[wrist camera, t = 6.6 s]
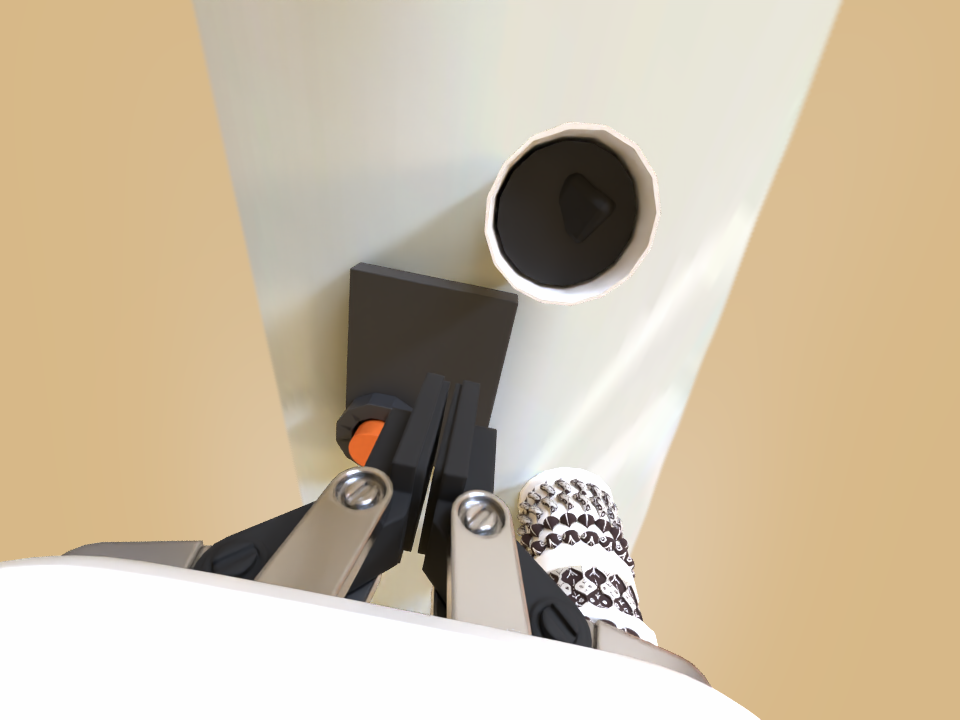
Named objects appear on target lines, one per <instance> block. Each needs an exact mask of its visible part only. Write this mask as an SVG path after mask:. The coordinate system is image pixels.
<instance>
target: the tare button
mask: <svg viewBox="0 0 960 720" xmlns="http://www.w3.org/2000/svg"><path fill="white" fill-rule="evenodd" d="M384 424H385V422H384V421H381V420H368V421H365V422H363V423H362V424H361V425H360V426H359V427H358V429H357V431H356V432H355V434H354V436H353V437H352V439H351V441H350V443H349V453H350V455H351V457H352V458H353V460H354V461H355V462H357V463H358V464H359V465H361V466H363V467H364V465H365V463H366V461H367V459H368V457H369V455H370V453H371V451H372V449H373V447H374V445H375V442H376V440H377V438H378V436H379V434H380V432H381V430H382V428H383V426H384Z"/></svg>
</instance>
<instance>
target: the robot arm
mask: <svg viewBox="0 0 960 720" xmlns="http://www.w3.org/2000/svg"><path fill="white" fill-rule="evenodd" d="M444 379H445V376H443V375H439V374H434V373H429V372H428V373H427V375H426V377H425V380H424V382H423V385H422V387H421V390H420V393H419V395H418V398H417V400H416V403H415V405H414V408H413V410H412V411H408V410H403V409H398V408H392V410H391V411H390V413H389V415H388V418H387V420H386V422H385V424H384V426H383V428H382V430H381V432H380V434H379V436H378V438H377V440H376V442H375V445H374V447H373V449H372V451H371V453H370V455H369V457H368V459H367V461H366V463H365V465H364V467H354V468H350V469H347V470H345V471H343V472H341V473H339V474H338V475H337V476H336V477H335V478H334V479H333V480H332V481H331V483H330V484H329V485H328V486H327V488H326V489H325V490H324V491H323V493H322V494H321V495H320V496H319V498H318V499H317V500H316V501H314V502H312V503H310V504H307V505H305V506H302V507H300V508H298V509H295V510H292V511H290V512H288V513H285V514H283V515H280V516H278V517H275V518H273V519H270V520H268V521H265V522H263V523H260V524H258V525H256V526H253V527H251V528H248V529H246V530H243V531H241V532H238V533H236V534H234V535H231V536H229V537H226V538H225V539H223V540H221V541H219V542H217V543H215V544H214V545H213V546H203V541H152V542H101V543H94V544H88V545H84V546H81V547H78V548H76V549H73V550H70V551H68V552H66V553H65V554H63V555H61V556H46V557H33V558H25V559H19V560H11V561H4V562H0V720H760V719H759V718H758V717H756V716H755V715H754V714H752V713H751V712H750V711H748V710H747V709H746V708H744V707H742V706H741V705H739V704H738V703H736V702H734V701H733V700H731V699H730V698H728V697H727V696H725V695H723V694H722V693H720V692H718V691H717V690H715V689H713V688H712V687H711V686H710V684H709V682H708V681H707V679H706V678H705V676H704V675H703V674H702V673H701V672H700V671H699V670H698V669H697V668H696V667H695V666H694V665H693V664H692V663H690V662H689V661H687V660H686V659H684V658H683V657H681V656H679V655H676V654H674V653H672V652H670V651H668V650H665V649H663V648H661V647H659V646H656V645H654V644H652V643H650V642H647V641H645V640H643V639H641V638H639V637H636V636H634V635H632V634H630V633H627V632H625V631H623V630H621V629H619V628H616V627H614V626H612V625H610V624H607V623H605V622H603V621H601V620H597V622H596V624H595V623H593V622H591V621H589V620H587V619H586V618H585V616H584V615H583V614H582V612H581V611H580V609H579V608H578V607H577V606H576V604H575V603H574V602H573V601H572V600H571V599H570V598H569V597H568V596H567V595H566V594H565V592H564V591H563V590H562V589H561V588H560V587H559V586H558V585H557V584H556V583H555V581H554V580H553V579H552V578H551V577H550V576H549V575H548V574H547V573H546V572H545V570H544V569H543V568H542V567H541V566H540V565H539V564H538V563H537V562H536V561H535V560H534V558H533V557H532V556H531V555H530V554H529V553H528V552H527V551H526V550H525V549H524V547H523V546H522V545H521V544H520V543H519V542H518V541H517V540H516V538H515V532H514V527H513V521H512V516H511V513H510V510H509V508H508V506H507V505H506V504H505V502H504V501H503V500H502V499H500V498H499V497H498V496H496V495H494V494H493V490H494V472H495V454H496V437H497V430H496V429H492V428H487V427H483V426H478V425H475V420H476V412H477V405H478V398H479V391H480V383H476V382H471V381H466V380H464V381H463V384H459V383H456V385H455V389H454V393H453V397H452V401H451V405H450V409H449V413H448V417H447V421H446V425H445V429H444V433H443V437H442V441H441V445H440V449H439V453H438V457H437V460H436V465H435V469H434V473H433V478H432V483H431V488H430V493H429V498H428V503H427V508H426V513H425V518H424V523H423V528H422V533H421V538H420V543H419V548H418V553H420V554H425V559H424V564H423V569H422V570H423V571H424V573H425V574H426V576H427V577H428V579H429V580H430V582H431V583H432V585H433V586H432V591H431V612H430V615H427V614H422V613H417V612H412V611H407V610H401V609H396V608H391V607H386V606H381V605H376V604H371V603H370V601H371V599H372V597H373V595H374V593H375V591H376V589H377V587H378V585H379V583H380V579H381V576H382V573H384V572H385V571H387V570H389V569H390V568H392V567H394V566H395V565H397V563H400V561H401V557H402V554H403V550H405V551H410V552H411V550H412V546H413V542H414V539H415V535H416V531H417V527H418V523H419V519H420V515H421V511H422V507H423V504H424V500H425V496H426V492H427V488H428V484H429V480H430V476H431V472H432V469H433V465H434V461H435V457H436V453H437V448H438V443H439V438H440V433H441V428H442V423H443V418H444V413H445V408H446V403H447V398H448V393H449V388H450V382H449V381H445V380H444Z"/></svg>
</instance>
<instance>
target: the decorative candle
mask: <svg viewBox="0 0 960 720" xmlns="http://www.w3.org/2000/svg"><path fill="white" fill-rule="evenodd" d="M518 509H519V512H520V514H518V515H517V518H518V520H520V522H521V523H522V524H523V525H521V526H520V528H519V529H518V530H517V533H518V535H521V536H522V538H521V541H520V544H521V545H522V546H523V547H524V549H525V550H526V551H527V552H528V553H529V554H530V555H531V556H532V557H533V558H534V560H535V561H536V562H537V563H538V564H539V565H540V566H541V567H542V568H543V569H544V570H545V572H546V573H547V574H548V575H549V576H550V577H551V578H552V579H553V580H554V581H555V583H556V584H557V585H558V586H559V587H560V588H561V589H562V590H563V591H564V592H565V594H566V595H567V596H568V597H569V598H570V599H571V600H572V601H573V602H574V603H575V604H576V606H577V607H578V608H579V609H580V611H581V612H582V614H583V615H584V616H585V618H586V619H587V620H589V621H591V622H593V623H595V624H596V622H597V620H601V621H603V622H605V623H607V624H610V625H612V626H614V627H616V628H619V629H621V630H623V631H625V632H627V633H630V634H632V635H634V636H636V637H639V638H641V639H643V640H645V641H647V642H650V643H652V644H654V645H656V646H658V644H657V641H656V637H655V634H654V632H653V631H652V630H651V629H649V628H648V627H647V626H646V625H645V624H644V623H643V619H642V616H641V612H640V610H639V606H638V602H639V598H638V594H637V590H636V586H635V583H634V577H635V574H634V571H633V568H634V561H633V559H632V558H631V557H629V555H628V551H627V549H628V543H627V541H626V540H625V539H624V538H623V533H622V531H623V525H622V522H621V520H620V518H619V517H618V516H617V515H618V509H617V506H616V505H615V503H614V502H613V499H612V495H611V491H610V488H609V487H608V486H607V485H606V484H605V483H604V482H603V481H602V480H601V479H600V477H598V476H596V475H594V474H592V473H589V472H587V471H585V470H583V469H575V468H564V467H562V468H557V469H552V470H548V471H544V472H542V473H540V474H538V475H537V476H535V477H533V478H532V479H530V480H529V481H528V482H527V483H526V485H525V486H524V487H523V489H522V490H521V491H520V495H519V502H518Z"/></svg>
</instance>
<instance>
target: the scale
mask: <svg viewBox="0 0 960 720" xmlns="http://www.w3.org/2000/svg"><path fill="white" fill-rule="evenodd" d="M517 306H518V295H517V294H513V293H508V292H503V291H498V290H493V289H488V288H483V287H479V286H474V285H469V284H464V283H459V282H454V281H449V280H444V279H440V278H435V277H430V276H425V275H420V274H415V273H410V272H405V271H401V270H396V269H391V268H386V267H381V266H376V265H371V264H366V263H359V264H357V265H356V266H354V267H352V268H351V269H350V296H349V327H348V357H347V387H346V410H345V411H344V413H343V414H342V416H341V417H340V418H339V420H338V421H337V427H336V441H337V443H338V444H339V446H340V447H341V449H342V451H343V452H344V454H345V455H346V456H347V458H349V459H351V460H352V461H354V460H353V458H352V457H351V455H350V453H349V443H350V441H351V439H352V437H353V436H354V434H355V432H356V431H357V429H358V427H359V426H360V425H361V424H362V423H363V422H365V421H368V420H381V421H384V422H386V420H387V418H388V415H389V413H390V411H391V410H392V408H398V409H403V410H408V411H412V410H413V408H414V405H415V403H416V400H417V398H418V395H419V393H420V390H421V387H422V385H423V382H424V380H425V377H426V375H427V373H428V372H429V373H434V374H439V375H443V376H445V379H444V380H445V381H449V382H450V388H449V393H448V398H447V403H446V408H445V413H444V418H443V423H442V428H441V433H440V438H439V443H438V448H437V453H436V457H435V461H434V465H433V466H434V467H435V465H436V460H437V457H438V453H439V449H440V445H441V441H442V437H443V433H444V429H445V425H446V421H447V417H448V413H449V409H450V405H451V401H452V397H453V393H454V389H455V385H456V383H459V384H463V381H464V380H466V381H471V382H476V383H480V391H479V398H478V405H477V412H476V420H475V425H478V426H483V427H487V428H488V425H489V421H490V417H491V413H492V409H493V405H494V401H495V397H496V392H497V388H498V384H499V380H500V376H501V372H502V368H503V364H504V360H505V355H506V351H507V347H508V343H509V339H510V335H511V331H512V327H513V322H514V318H515V314H516V310H517ZM354 462H355V461H354ZM355 463H357V462H355ZM357 464H358V463H357ZM358 465H359V464H358ZM360 466H361V465H360ZM361 467H363V466H361Z"/></svg>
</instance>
